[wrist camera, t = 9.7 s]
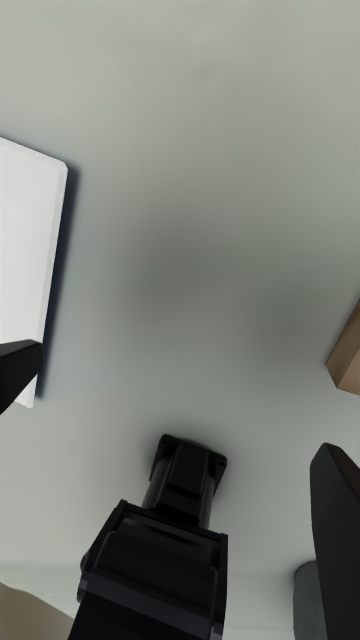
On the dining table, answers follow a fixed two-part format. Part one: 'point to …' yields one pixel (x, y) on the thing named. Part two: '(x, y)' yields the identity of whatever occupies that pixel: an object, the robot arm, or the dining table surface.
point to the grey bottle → (308, 605)
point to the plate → (27, 242)
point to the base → (347, 356)
